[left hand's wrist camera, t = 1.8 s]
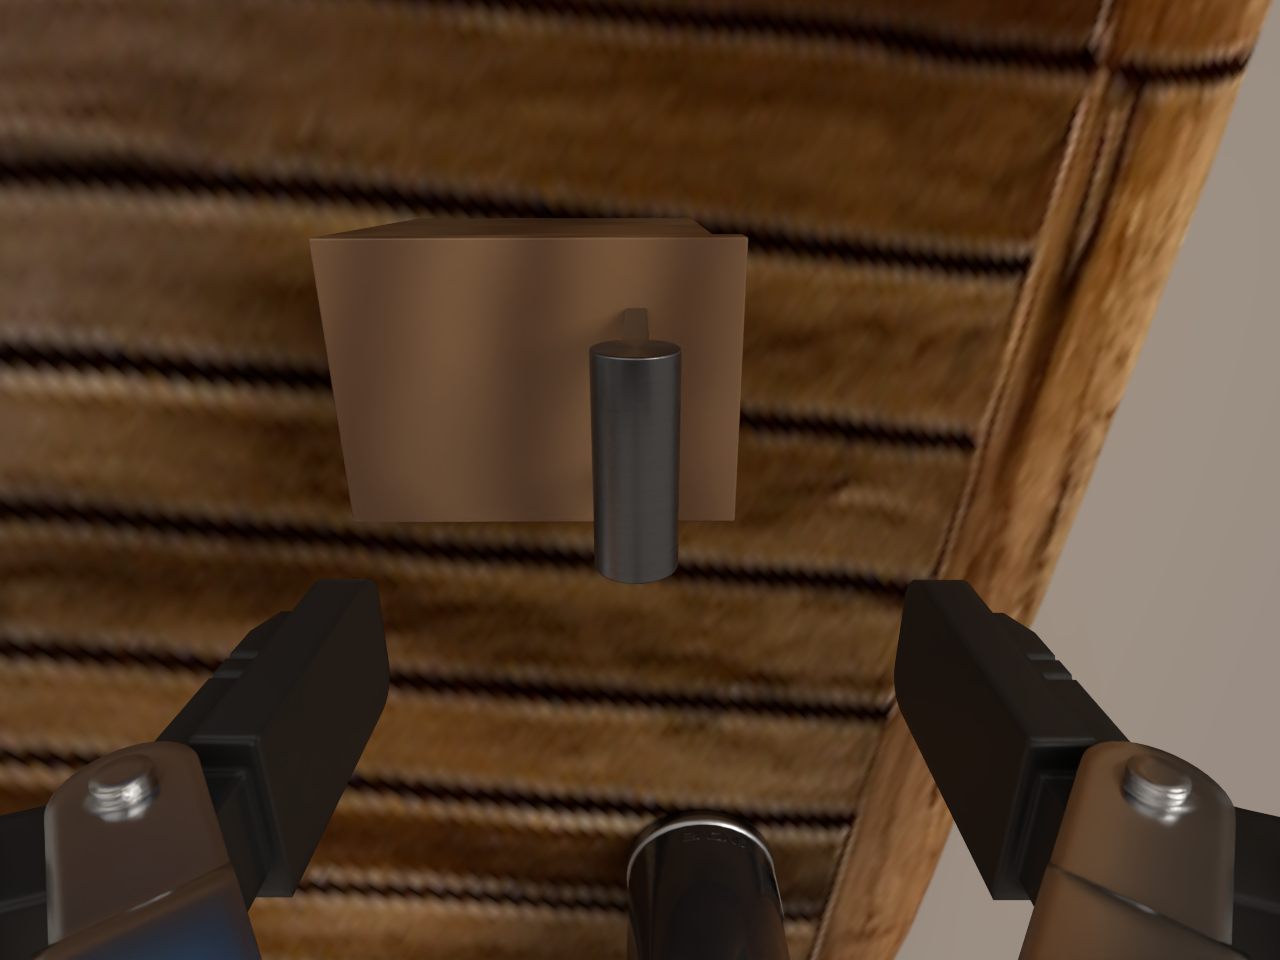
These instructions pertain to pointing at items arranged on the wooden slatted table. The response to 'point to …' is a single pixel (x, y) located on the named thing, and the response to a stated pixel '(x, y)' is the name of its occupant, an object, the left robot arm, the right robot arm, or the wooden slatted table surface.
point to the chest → (536, 227)
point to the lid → (539, 381)
